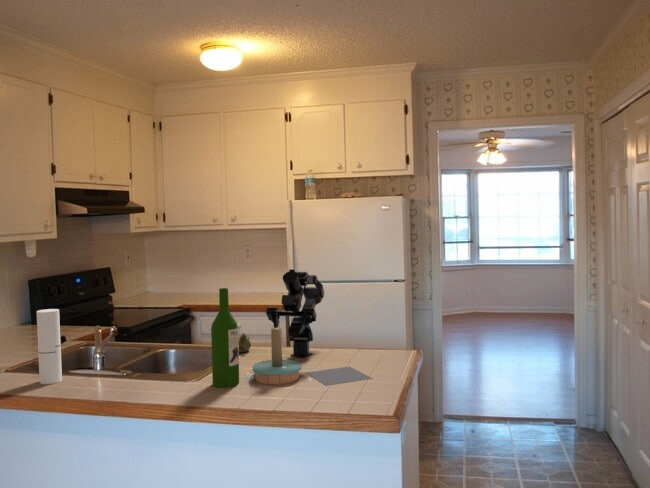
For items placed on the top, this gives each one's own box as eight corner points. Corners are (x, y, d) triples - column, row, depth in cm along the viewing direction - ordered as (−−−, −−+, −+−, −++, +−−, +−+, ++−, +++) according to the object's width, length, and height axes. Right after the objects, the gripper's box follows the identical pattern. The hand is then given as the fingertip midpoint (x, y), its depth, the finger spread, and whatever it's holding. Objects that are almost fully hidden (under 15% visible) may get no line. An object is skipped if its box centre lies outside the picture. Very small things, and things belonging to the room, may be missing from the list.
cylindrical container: (66, 379, 209) (63, 309, 208) (51, 384, 202) (48, 312, 201) (50, 377, 211) (47, 308, 210) (34, 383, 204) (31, 311, 203)
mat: (304, 373, 211) (304, 372, 211) (349, 367, 219) (349, 366, 219) (325, 386, 195) (325, 385, 195) (373, 379, 202) (373, 378, 202)
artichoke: (253, 349, 251) (253, 330, 250) (249, 353, 243) (249, 334, 242) (236, 349, 251) (236, 330, 251) (231, 353, 244) (231, 334, 243)
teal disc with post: (293, 360, 216) (292, 322, 215) (307, 372, 200) (307, 331, 199) (248, 365, 210) (247, 326, 210) (258, 377, 194) (257, 335, 194)
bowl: (273, 370, 216) (273, 361, 215) (307, 376, 207) (307, 366, 207) (246, 380, 203) (246, 370, 203) (281, 387, 195) (280, 376, 195)
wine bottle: (231, 388, 194) (228, 290, 192) (207, 386, 197) (204, 289, 195) (244, 381, 202) (241, 287, 201) (221, 379, 205) (218, 286, 204)
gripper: (266, 286, 224) (257, 320, 214) (314, 286, 220) (307, 321, 210) (273, 302, 232) (265, 336, 223) (319, 303, 228) (313, 338, 218)
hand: (287, 333), depth 218 cm, fingers open, 9 cm apart
